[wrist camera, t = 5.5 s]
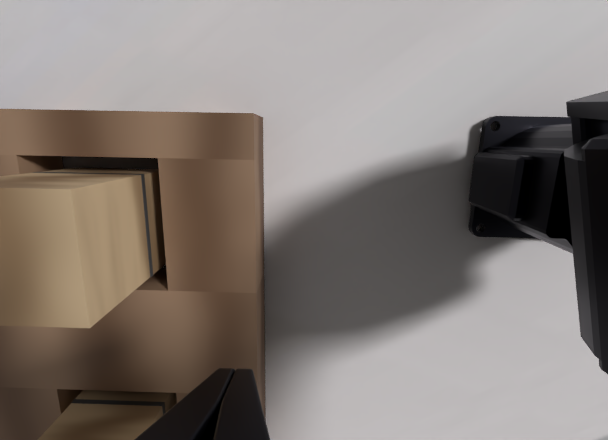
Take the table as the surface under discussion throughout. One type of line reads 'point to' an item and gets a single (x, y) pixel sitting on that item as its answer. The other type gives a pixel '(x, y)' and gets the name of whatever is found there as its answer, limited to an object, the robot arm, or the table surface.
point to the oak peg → (109, 415)
